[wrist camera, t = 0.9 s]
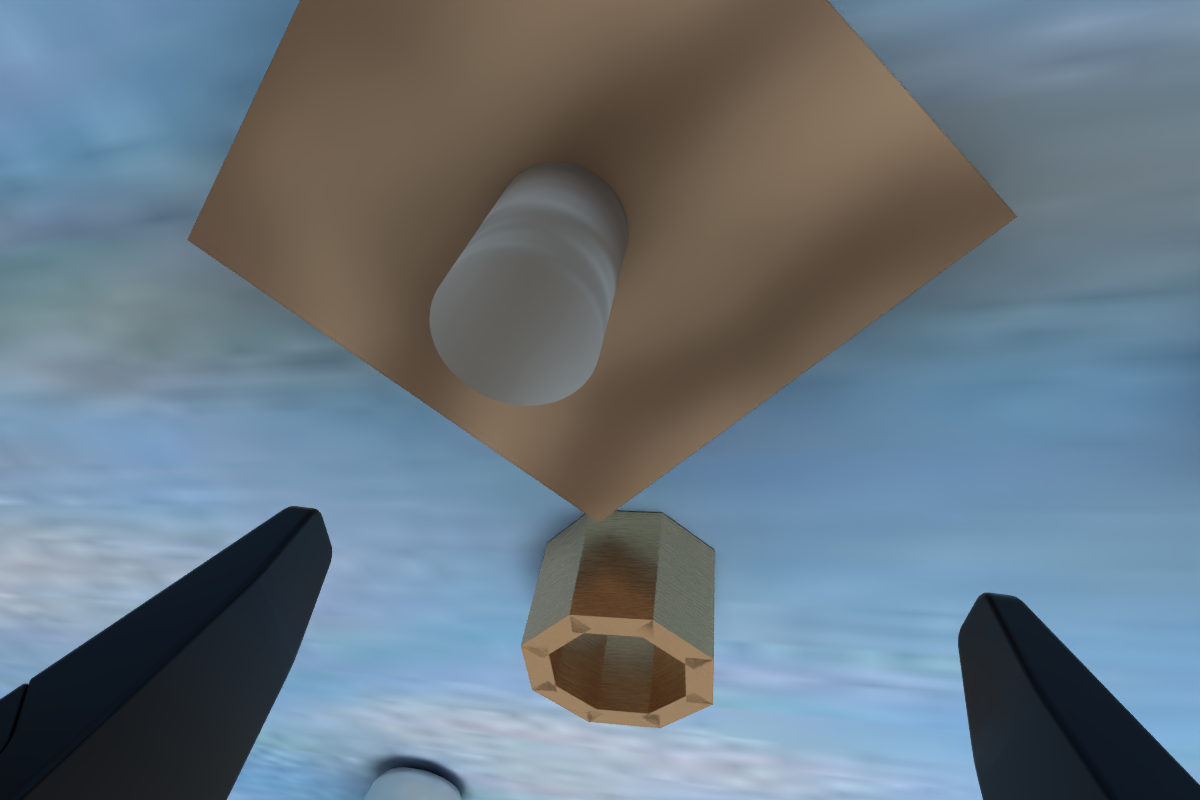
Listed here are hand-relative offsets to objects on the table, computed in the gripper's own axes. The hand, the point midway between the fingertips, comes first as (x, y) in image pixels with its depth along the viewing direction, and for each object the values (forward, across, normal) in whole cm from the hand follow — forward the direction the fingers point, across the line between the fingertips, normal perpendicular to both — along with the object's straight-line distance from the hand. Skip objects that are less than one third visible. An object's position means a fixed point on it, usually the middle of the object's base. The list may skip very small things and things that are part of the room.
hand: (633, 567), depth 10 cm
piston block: (+13, +3, 0) cm, 13 cm away
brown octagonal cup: (+13, +1, +16) cm, 21 cm away
